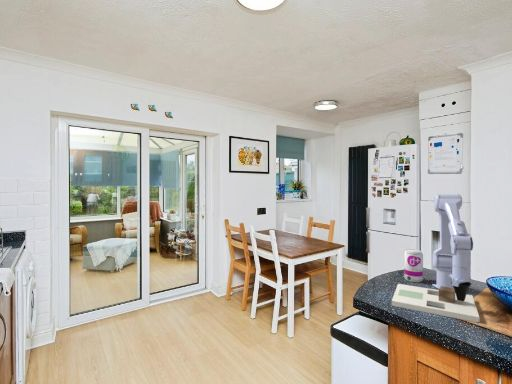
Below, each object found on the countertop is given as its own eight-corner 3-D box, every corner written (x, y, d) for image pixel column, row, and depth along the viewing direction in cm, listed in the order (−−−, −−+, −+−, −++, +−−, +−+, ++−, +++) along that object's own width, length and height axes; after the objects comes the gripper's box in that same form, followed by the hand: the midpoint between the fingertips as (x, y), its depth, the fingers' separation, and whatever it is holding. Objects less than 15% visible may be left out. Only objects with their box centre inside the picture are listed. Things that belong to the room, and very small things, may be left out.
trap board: (472, 300, 120) (472, 295, 120) (479, 322, 101) (479, 317, 101) (397, 287, 135) (398, 283, 135) (391, 305, 115) (391, 300, 115)
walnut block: (455, 299, 116) (455, 288, 116) (453, 303, 112) (453, 292, 112) (440, 296, 119) (440, 286, 119) (438, 300, 115) (438, 289, 115)
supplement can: (422, 283, 140) (422, 253, 140) (403, 281, 144) (403, 251, 144) (423, 279, 147) (423, 250, 146) (405, 276, 151) (405, 248, 151)
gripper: (455, 260, 120) (455, 292, 120) (442, 267, 111) (442, 302, 111) (476, 264, 115) (475, 297, 115) (464, 271, 105) (464, 308, 106)
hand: (460, 300), depth 113 cm, fingers closed
